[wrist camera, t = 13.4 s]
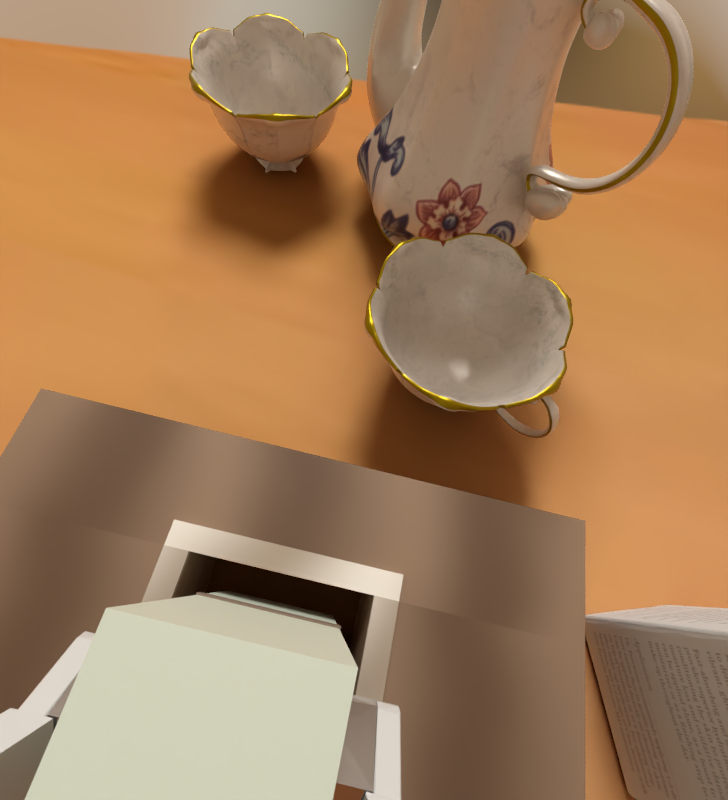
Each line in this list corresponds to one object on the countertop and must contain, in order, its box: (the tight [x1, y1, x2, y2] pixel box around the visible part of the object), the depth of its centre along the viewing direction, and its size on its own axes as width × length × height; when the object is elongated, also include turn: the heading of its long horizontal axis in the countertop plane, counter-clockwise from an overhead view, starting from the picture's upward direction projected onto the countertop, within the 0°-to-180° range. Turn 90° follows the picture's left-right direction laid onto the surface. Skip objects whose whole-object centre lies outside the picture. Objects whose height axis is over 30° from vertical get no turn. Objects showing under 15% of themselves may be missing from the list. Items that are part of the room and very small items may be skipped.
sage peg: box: [25, 590, 358, 800], centre depth 10 cm, size 4×4×10 cm
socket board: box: [0, 389, 585, 800], centre depth 14 cm, size 20×14×4 cm
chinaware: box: [189, 0, 693, 438], centre depth 18 cm, size 28×17×17 cm, turn 37°
